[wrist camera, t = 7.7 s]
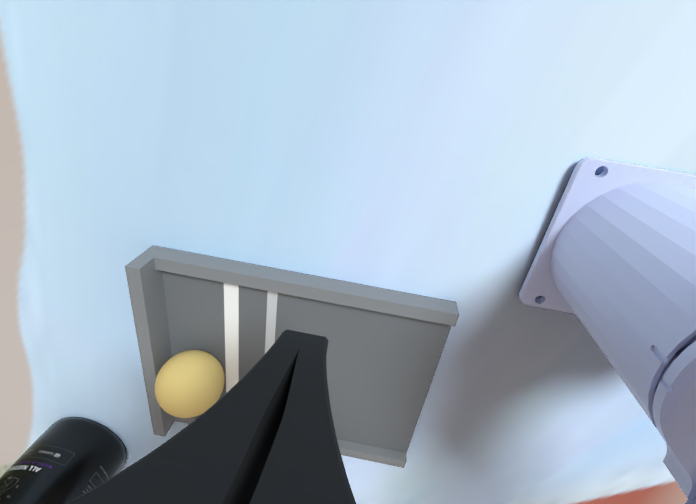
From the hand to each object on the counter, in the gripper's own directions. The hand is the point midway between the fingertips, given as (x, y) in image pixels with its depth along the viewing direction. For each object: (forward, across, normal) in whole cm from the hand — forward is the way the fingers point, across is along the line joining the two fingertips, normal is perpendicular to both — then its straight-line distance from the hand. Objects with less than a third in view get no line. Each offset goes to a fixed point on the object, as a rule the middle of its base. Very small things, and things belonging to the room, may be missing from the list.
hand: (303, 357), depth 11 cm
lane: (+9, +2, +10) cm, 14 cm away
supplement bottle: (+10, +19, +24) cm, 32 cm away
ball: (+6, +10, +11) cm, 16 cm away
